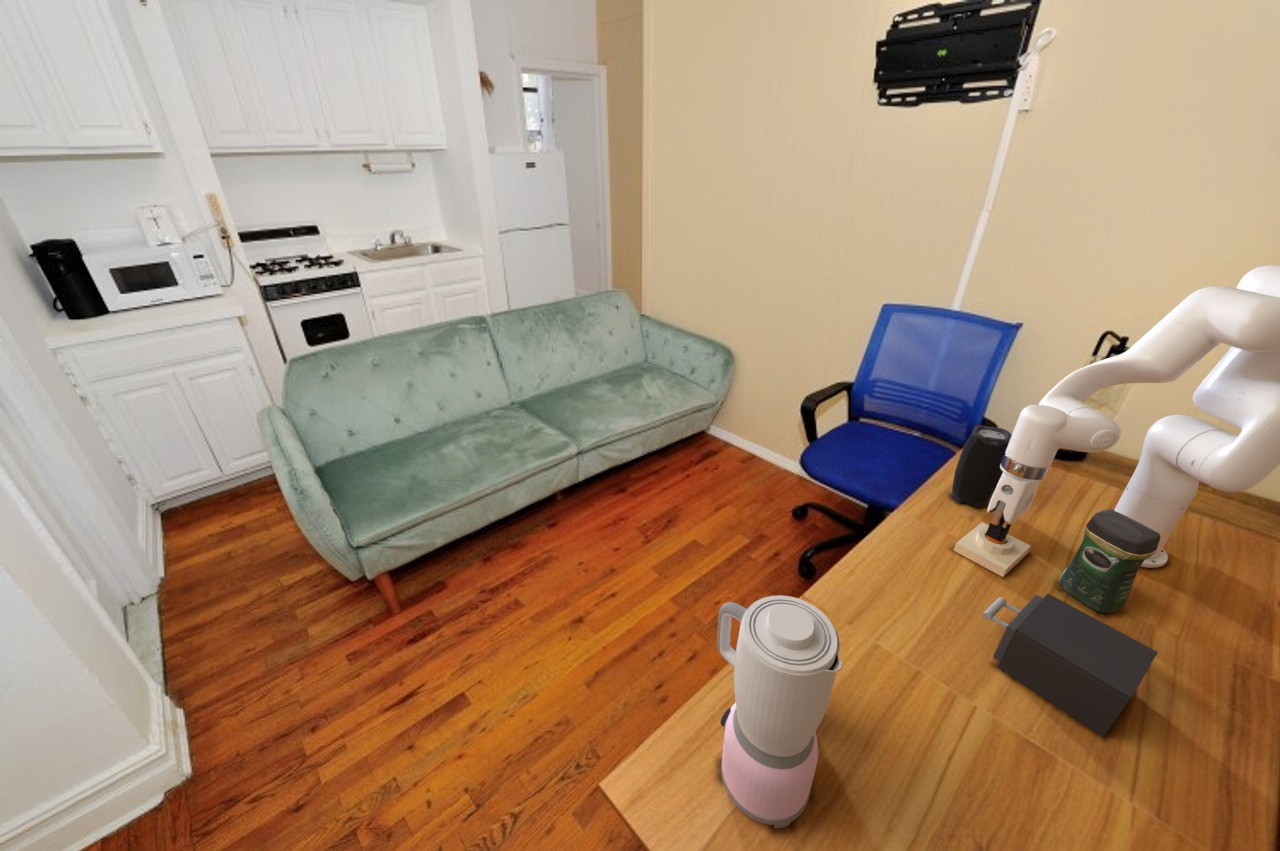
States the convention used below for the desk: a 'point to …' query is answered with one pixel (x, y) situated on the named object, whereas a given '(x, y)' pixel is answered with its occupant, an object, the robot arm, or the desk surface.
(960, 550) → the block
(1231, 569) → the desk surface
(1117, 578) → the coffee jar
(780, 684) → the blender
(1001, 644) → the drawer
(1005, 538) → the button
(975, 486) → the portable speaker
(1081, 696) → the box
